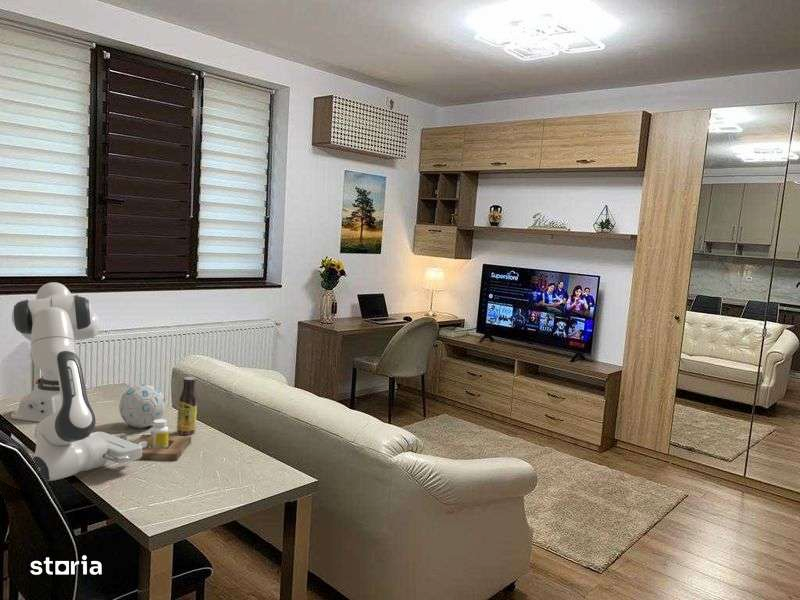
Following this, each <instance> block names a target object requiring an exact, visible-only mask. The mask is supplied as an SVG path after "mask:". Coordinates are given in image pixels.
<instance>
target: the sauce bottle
mask: <svg viewBox="0 0 800 600" xmlns="http://www.w3.org/2000/svg"><path fill="white" fill-rule="evenodd" d="M196 379H197V378H196V377H192V376H185V377H183V380H182V381H183V383H182V385H183V386H182V387H183V389H182V391H181V394H180V397H179V399H178V403H177V404H178V406H177V407H178V408H177V420H176V432H177V434H178V435H179V436H180V435H181V436H188V435H189V436H190V435H194V433H196V426H197V413H198V412H197V411H198V395H197V393H196V391H195V385H196V381H197V380H196Z"/></svg>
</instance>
